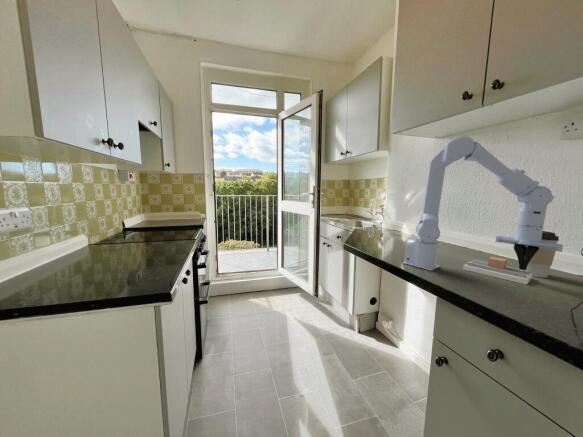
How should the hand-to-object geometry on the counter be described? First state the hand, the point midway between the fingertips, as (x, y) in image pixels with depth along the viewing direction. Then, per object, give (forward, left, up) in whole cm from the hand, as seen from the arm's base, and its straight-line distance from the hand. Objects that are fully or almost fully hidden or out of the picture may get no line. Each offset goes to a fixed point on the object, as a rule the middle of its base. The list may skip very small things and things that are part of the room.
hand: (522, 269), depth 74 cm
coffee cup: (+1, +12, -4) cm, 13 cm away
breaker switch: (-6, 0, -2) cm, 6 cm away
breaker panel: (-6, 0, -3) cm, 7 cm away
